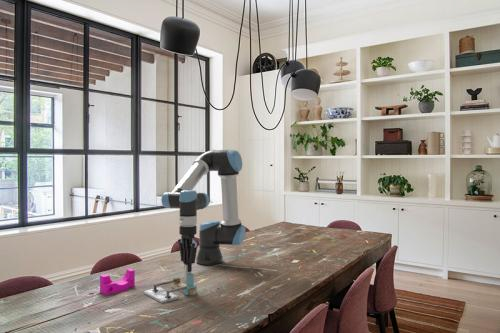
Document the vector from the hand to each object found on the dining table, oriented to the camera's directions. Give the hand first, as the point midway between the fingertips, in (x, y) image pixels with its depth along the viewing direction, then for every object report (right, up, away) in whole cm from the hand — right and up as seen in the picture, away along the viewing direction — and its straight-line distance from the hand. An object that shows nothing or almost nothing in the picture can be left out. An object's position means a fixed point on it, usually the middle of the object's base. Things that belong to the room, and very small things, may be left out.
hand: (187, 278), depth 169 cm
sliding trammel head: (-2, -6, -4) cm, 8 cm away
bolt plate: (-11, -6, -4) cm, 13 cm away
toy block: (-32, -7, +5) cm, 33 cm away
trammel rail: (-6, -6, 0) cm, 9 cm away
